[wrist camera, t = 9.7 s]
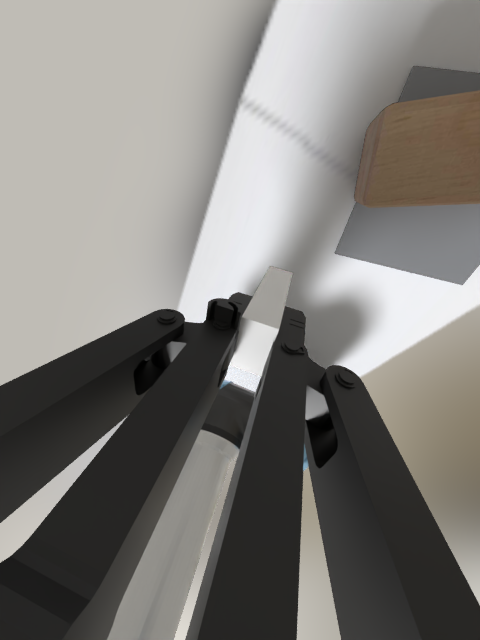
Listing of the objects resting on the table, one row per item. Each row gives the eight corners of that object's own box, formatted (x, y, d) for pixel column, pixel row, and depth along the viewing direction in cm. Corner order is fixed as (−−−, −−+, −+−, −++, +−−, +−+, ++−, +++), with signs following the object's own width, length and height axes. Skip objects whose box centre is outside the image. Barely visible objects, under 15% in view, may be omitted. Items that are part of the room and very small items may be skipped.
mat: (460, 284, 38) (462, 285, 38) (334, 253, 41) (334, 253, 41) (621, 91, 24) (626, 90, 24) (412, 67, 27) (414, 65, 27)
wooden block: (362, 209, 28) (576, 201, 22) (384, 102, 23) (670, 58, 17) (351, 202, 36) (507, 195, 30) (366, 123, 31) (557, 97, 25)
